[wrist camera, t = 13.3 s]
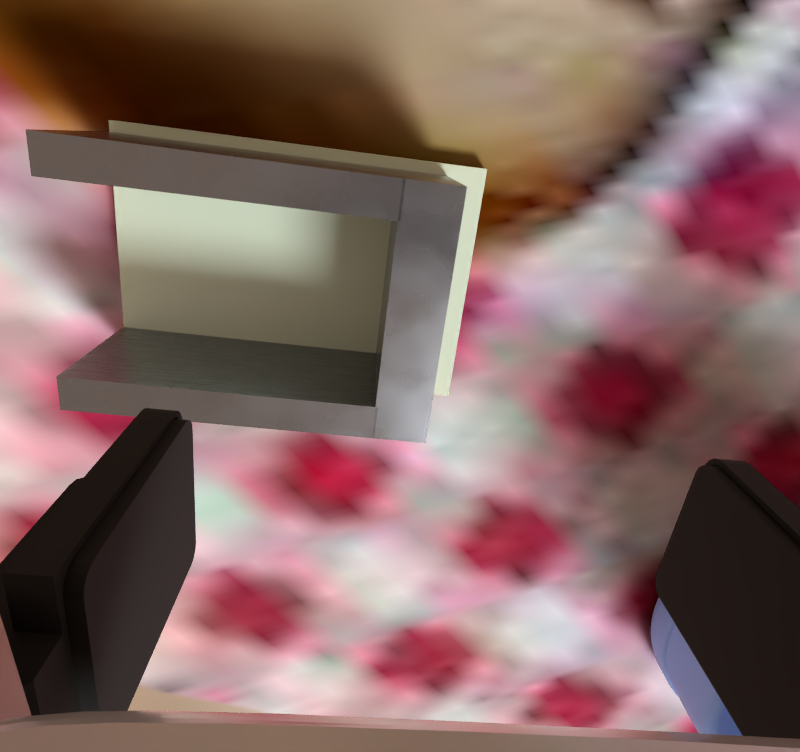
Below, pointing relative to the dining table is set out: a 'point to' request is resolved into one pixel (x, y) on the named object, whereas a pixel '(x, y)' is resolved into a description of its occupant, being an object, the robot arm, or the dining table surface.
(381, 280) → the board
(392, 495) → the dining table surface
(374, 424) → the c link
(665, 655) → the water jug
